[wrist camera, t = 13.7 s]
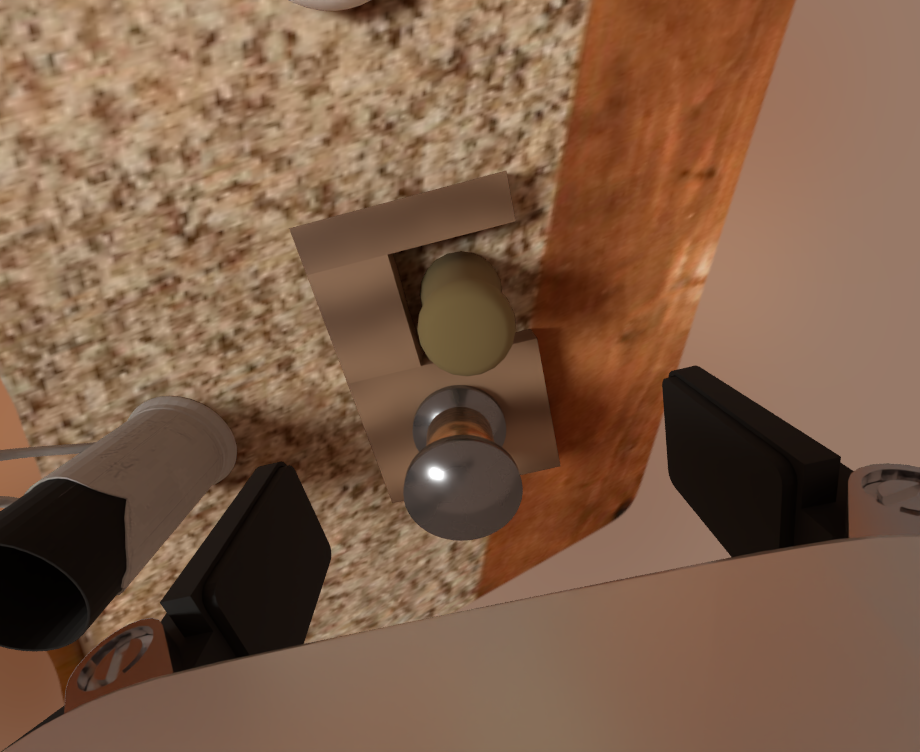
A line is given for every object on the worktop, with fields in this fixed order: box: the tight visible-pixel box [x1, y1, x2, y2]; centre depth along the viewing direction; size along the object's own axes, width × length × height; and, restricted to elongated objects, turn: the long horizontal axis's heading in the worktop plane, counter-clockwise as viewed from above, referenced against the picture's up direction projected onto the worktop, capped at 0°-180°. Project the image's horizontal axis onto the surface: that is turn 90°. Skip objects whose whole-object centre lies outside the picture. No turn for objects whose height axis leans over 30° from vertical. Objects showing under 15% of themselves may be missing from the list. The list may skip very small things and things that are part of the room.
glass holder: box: [0, 396, 237, 651], centre depth 28 cm, size 9×14×15 cm, turn 67°
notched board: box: [289, 171, 560, 503], centre depth 32 cm, size 22×14×2 cm, turn 14°
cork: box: [417, 251, 516, 376], centre depth 26 cm, size 6×6×11 cm
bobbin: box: [403, 385, 522, 541], centre depth 29 cm, size 7×7×8 cm
